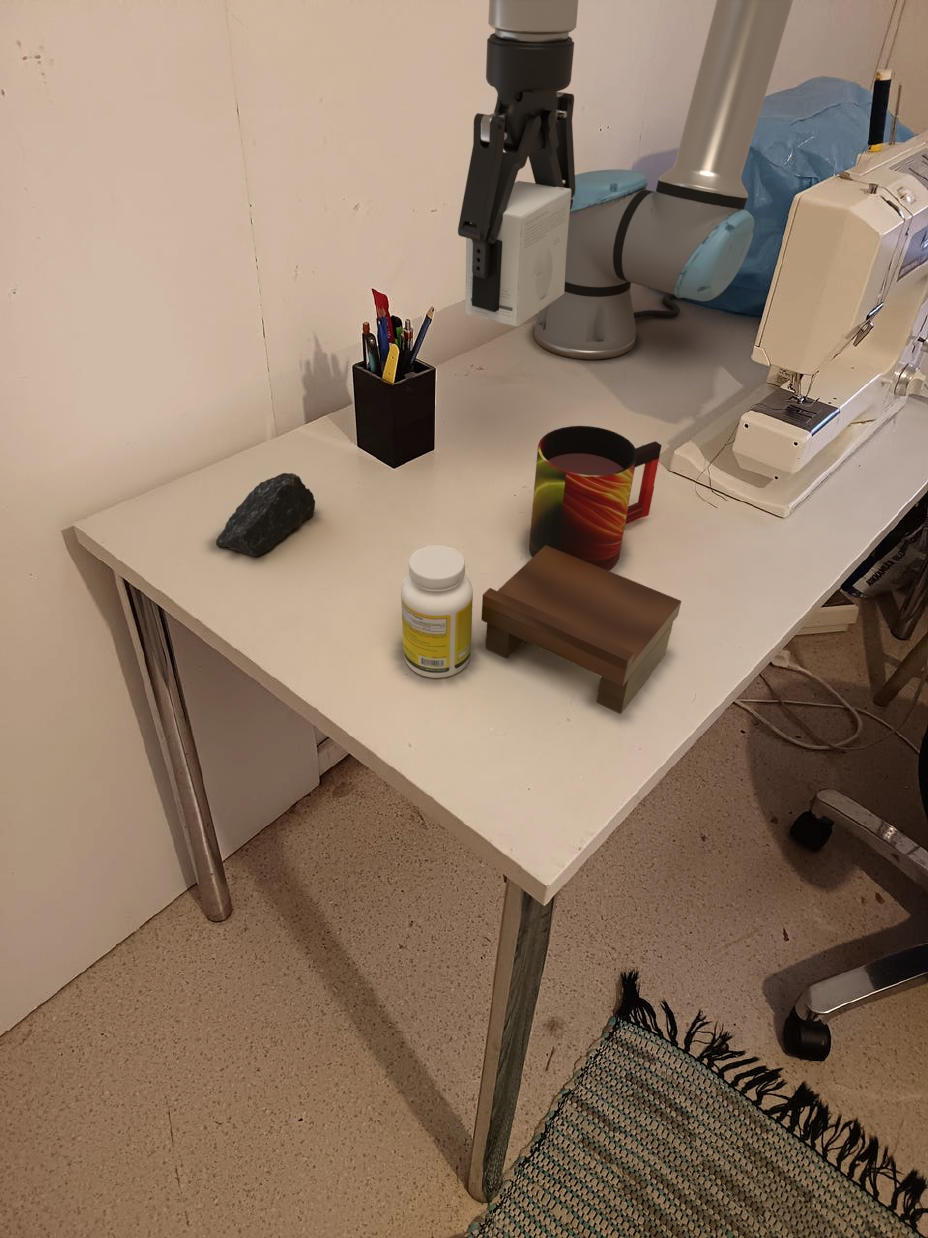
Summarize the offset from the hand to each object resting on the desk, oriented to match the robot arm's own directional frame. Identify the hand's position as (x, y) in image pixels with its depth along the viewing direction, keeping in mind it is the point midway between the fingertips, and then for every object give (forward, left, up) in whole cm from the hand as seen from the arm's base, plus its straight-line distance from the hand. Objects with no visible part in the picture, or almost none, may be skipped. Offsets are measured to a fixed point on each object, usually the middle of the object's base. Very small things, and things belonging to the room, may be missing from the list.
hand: (515, 290), depth 90 cm
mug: (+6, +14, -22) cm, 27 cm away
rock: (+25, -14, -22) cm, 36 cm away
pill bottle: (+30, +12, -22) cm, 39 cm away
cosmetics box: (0, 0, -2) cm, 2 cm away
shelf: (+22, +22, -22) cm, 38 cm away
